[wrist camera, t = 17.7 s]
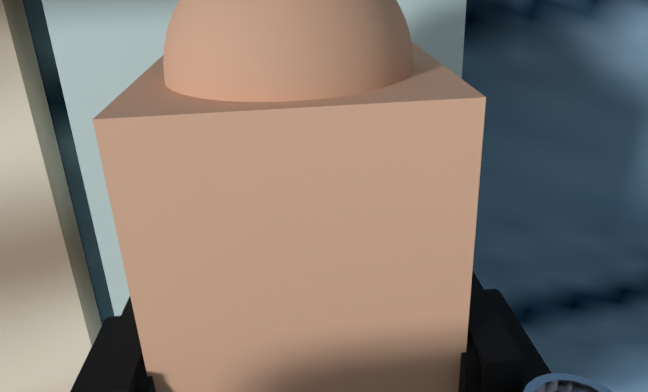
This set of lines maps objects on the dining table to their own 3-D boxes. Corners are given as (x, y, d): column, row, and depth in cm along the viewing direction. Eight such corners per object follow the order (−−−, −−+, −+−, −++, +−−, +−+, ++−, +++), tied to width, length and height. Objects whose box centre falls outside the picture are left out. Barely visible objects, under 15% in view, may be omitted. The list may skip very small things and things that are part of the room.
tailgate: (8, -145, 11) (476, -164, 11) (35, -137, 12) (460, -154, 12) (149, 469, 17) (439, 452, 18) (159, 438, 19) (431, 422, 19)
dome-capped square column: (146, -57, 9) (54, -58, 5) (415, -69, 9) (499, -78, 5) (235, 528, 14) (220, 717, 11) (401, 513, 14) (439, 694, 11)
